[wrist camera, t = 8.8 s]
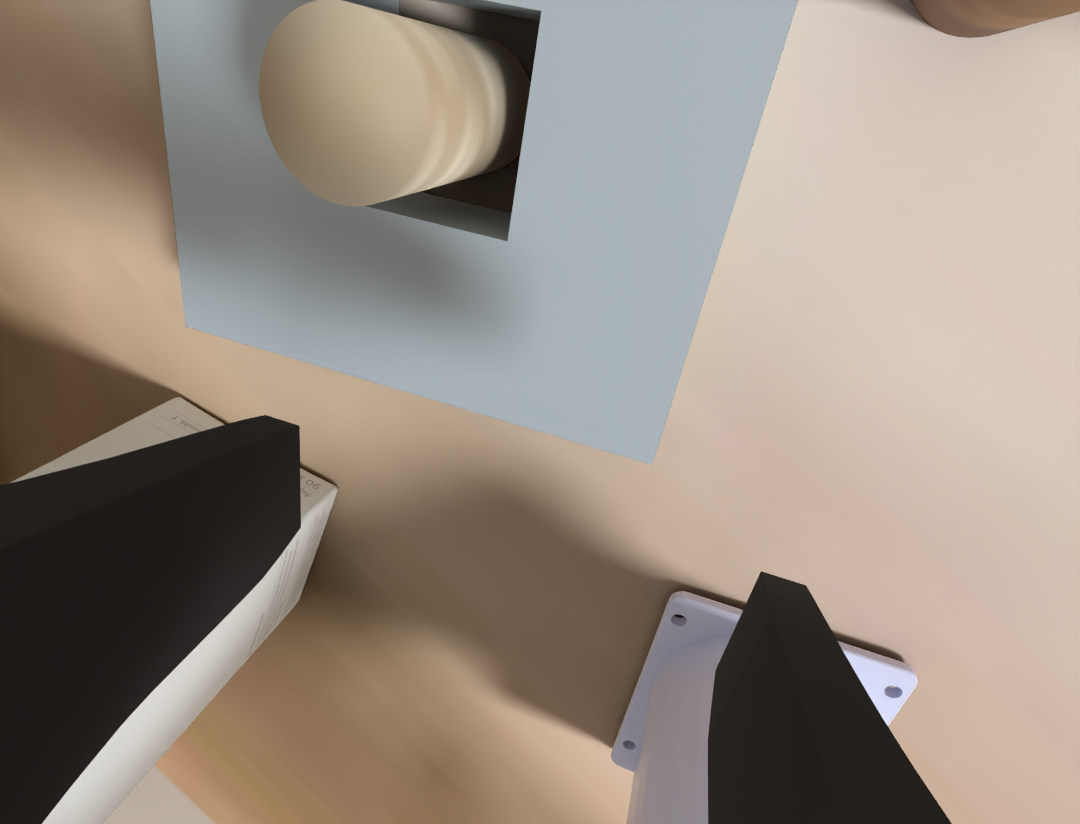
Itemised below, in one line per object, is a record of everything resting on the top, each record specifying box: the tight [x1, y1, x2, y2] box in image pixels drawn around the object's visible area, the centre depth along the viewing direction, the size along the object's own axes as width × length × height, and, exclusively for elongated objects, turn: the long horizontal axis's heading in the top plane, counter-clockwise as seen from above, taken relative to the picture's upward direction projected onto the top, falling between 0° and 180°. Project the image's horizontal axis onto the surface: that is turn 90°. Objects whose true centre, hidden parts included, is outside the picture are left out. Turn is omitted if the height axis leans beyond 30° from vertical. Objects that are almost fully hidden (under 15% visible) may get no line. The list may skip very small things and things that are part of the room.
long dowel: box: [259, 0, 531, 207], centre depth 13 cm, size 3×3×6 cm
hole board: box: [150, 0, 798, 465], centre depth 15 cm, size 14×14×3 cm
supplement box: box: [10, 397, 338, 824], centre depth 20 cm, size 7×7×13 cm
